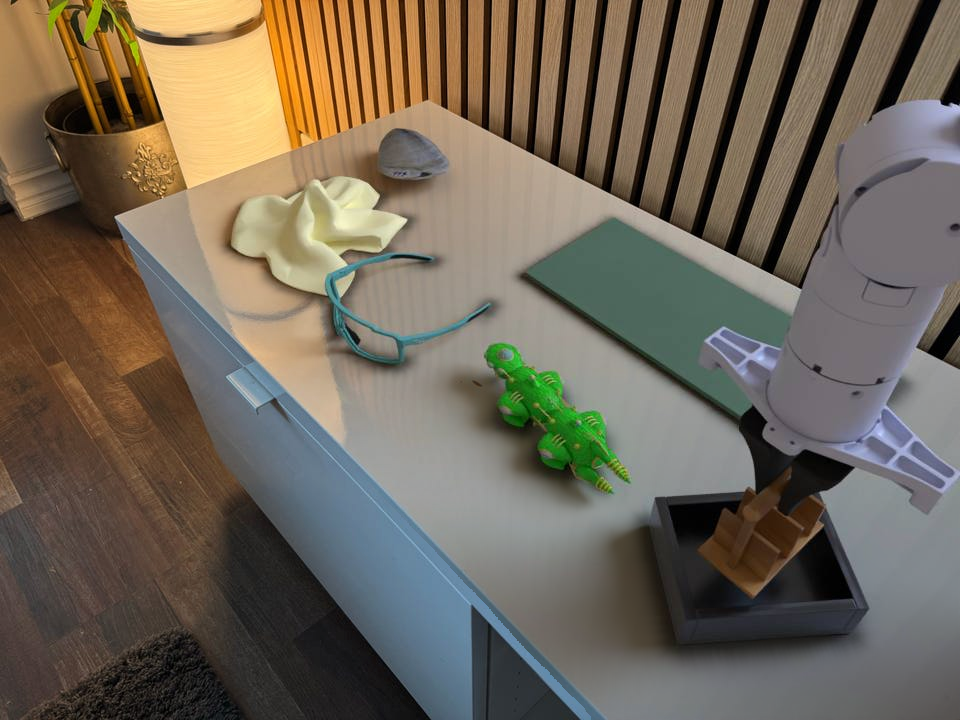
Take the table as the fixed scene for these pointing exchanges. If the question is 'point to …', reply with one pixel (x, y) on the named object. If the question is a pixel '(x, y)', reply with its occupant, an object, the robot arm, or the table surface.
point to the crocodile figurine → (553, 417)
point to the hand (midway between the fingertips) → (779, 496)
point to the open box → (730, 611)
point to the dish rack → (761, 536)
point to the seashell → (410, 156)
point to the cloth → (314, 231)
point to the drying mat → (659, 304)
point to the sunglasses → (353, 337)
